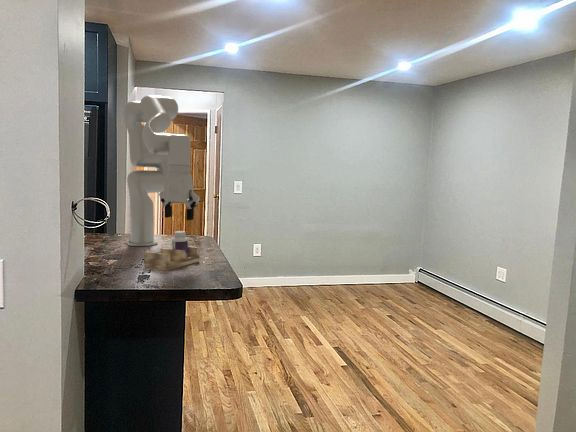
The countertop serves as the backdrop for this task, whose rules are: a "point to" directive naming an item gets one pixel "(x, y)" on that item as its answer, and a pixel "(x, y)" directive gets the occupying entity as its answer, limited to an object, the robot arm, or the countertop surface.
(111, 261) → the countertop surface
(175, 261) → the rack
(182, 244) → the pill bottle
